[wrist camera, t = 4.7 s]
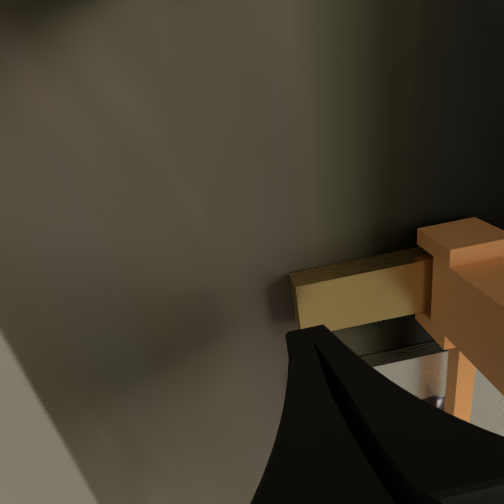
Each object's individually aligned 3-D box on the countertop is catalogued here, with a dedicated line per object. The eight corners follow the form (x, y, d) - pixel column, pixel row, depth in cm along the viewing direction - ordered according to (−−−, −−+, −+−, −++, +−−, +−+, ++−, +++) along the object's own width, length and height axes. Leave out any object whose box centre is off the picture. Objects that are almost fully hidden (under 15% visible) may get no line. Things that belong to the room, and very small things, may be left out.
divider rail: (625, 183, 15) (888, 241, 9) (574, 378, 20) (730, 501, 14) (285, 251, 15) (338, 358, 9) (311, 436, 19) (358, 589, 13)
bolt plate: (592, 307, 18) (610, 317, 17) (562, 423, 21) (576, 436, 20) (302, 369, 17) (306, 382, 17) (317, 477, 21) (321, 493, 20)
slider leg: (474, 216, 15) (639, 294, 9) (457, 409, 19) (560, 541, 14) (417, 228, 15) (548, 313, 9) (412, 419, 19) (498, 555, 14)
